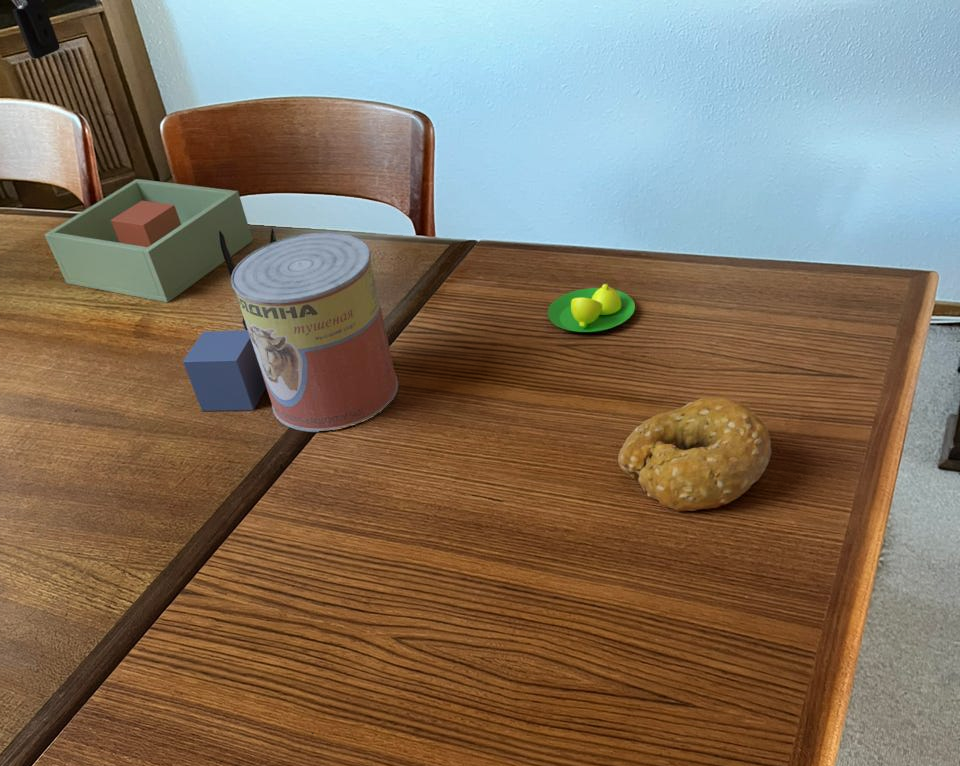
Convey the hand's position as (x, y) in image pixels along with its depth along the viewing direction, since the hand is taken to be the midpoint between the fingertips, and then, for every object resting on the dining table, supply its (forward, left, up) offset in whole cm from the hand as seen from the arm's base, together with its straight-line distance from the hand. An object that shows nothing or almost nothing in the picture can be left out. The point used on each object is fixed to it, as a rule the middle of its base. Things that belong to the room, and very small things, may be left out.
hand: (11, 51), depth 92 cm
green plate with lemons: (+56, +7, -23) cm, 61 cm away
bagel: (+73, -12, -23) cm, 78 cm away
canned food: (+40, -12, -23) cm, 48 cm away
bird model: (+25, -3, -23) cm, 34 cm away
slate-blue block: (+31, -15, -23) cm, 41 cm away
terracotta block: (+4, +4, -22) cm, 23 cm away
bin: (+4, +4, -23) cm, 23 cm away
